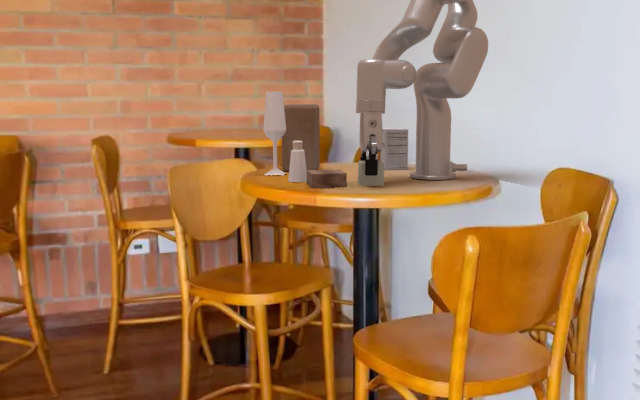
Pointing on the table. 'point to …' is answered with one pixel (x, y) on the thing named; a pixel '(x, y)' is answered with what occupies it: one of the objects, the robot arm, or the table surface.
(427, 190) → the table surface
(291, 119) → the block
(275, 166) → the champagne flute
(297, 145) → the pepper shaker
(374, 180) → the sage block
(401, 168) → the supplement box
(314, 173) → the walnut block
